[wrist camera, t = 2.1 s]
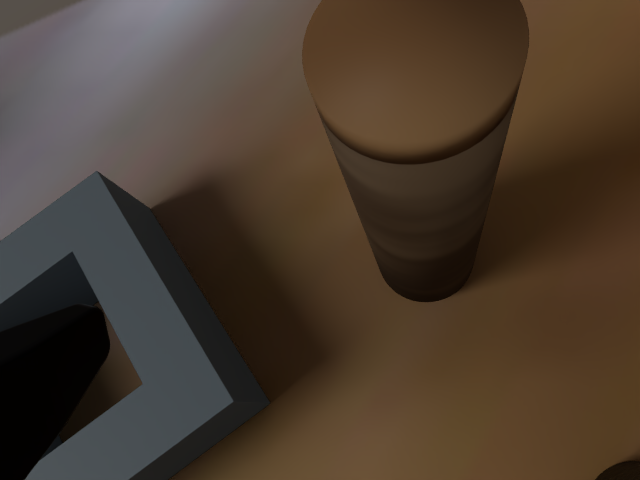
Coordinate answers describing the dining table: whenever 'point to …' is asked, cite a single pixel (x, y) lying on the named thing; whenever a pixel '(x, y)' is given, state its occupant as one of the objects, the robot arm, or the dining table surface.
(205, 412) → the hole block
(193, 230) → the dining table surface
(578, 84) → the dining table surface
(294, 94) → the dining table surface
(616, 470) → the short grey pin
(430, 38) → the tall walnut pin
